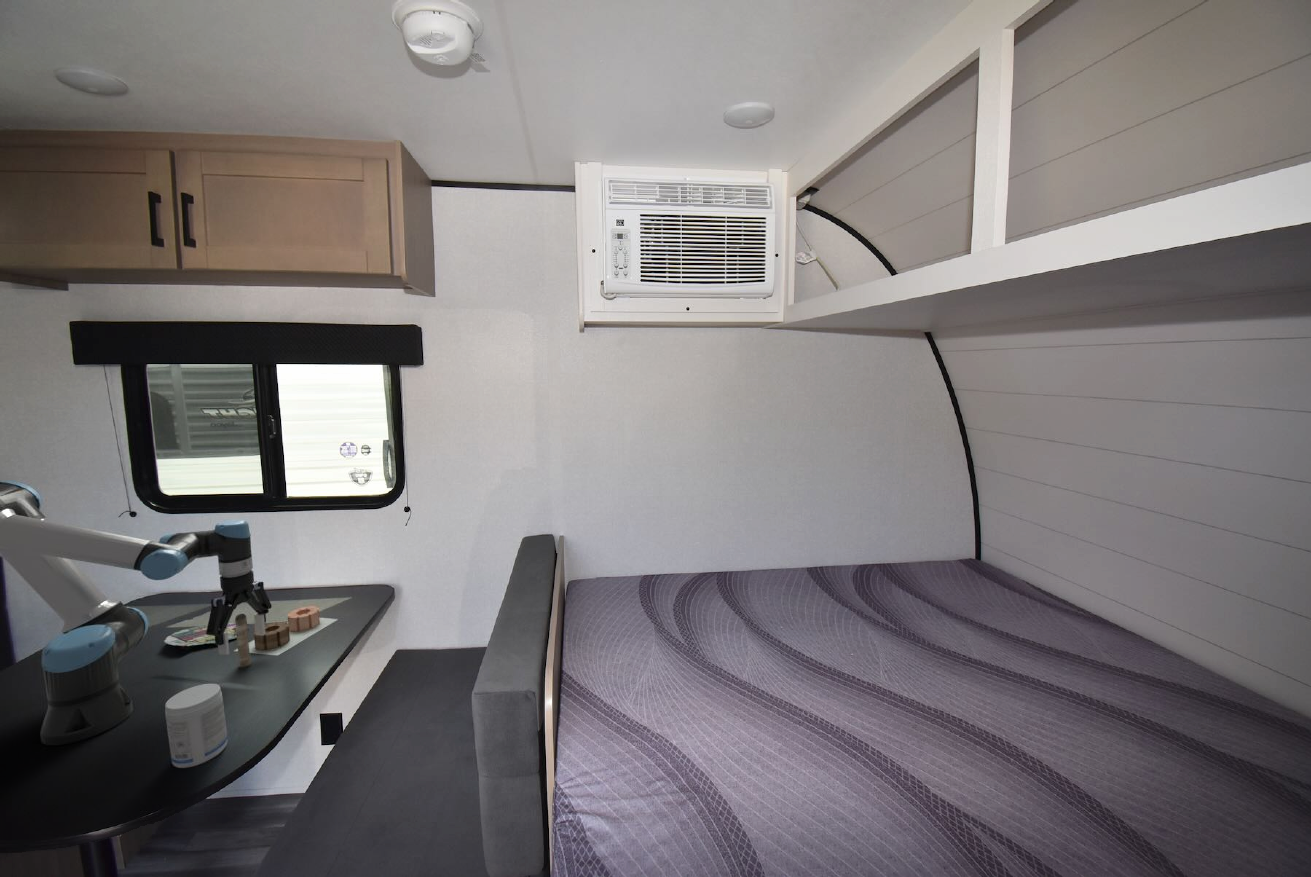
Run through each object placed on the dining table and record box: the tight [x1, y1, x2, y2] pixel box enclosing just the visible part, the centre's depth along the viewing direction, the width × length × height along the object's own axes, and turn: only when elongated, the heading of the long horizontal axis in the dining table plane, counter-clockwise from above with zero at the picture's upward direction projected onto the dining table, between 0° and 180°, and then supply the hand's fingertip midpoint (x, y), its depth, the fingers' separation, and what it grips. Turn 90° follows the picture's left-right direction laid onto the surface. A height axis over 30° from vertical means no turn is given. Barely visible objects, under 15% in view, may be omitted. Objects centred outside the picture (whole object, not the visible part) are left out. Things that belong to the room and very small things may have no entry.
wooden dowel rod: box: [234, 613, 251, 668], centre depth 146 cm, size 3×3×17 cm
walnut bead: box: [253, 621, 290, 651], centre depth 159 cm, size 9×9×5 cm
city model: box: [163, 622, 249, 651], centre depth 165 cm, size 25×23×6 cm
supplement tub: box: [164, 683, 228, 769], centre depth 113 cm, size 10×10×15 cm
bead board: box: [233, 617, 339, 656], centre depth 165 cm, size 24×16×1 cm, turn 171°
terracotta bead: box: [287, 605, 320, 632], centre depth 171 cm, size 9×9×5 cm
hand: (243, 643), depth 146 cm, fingers open, 10 cm apart
